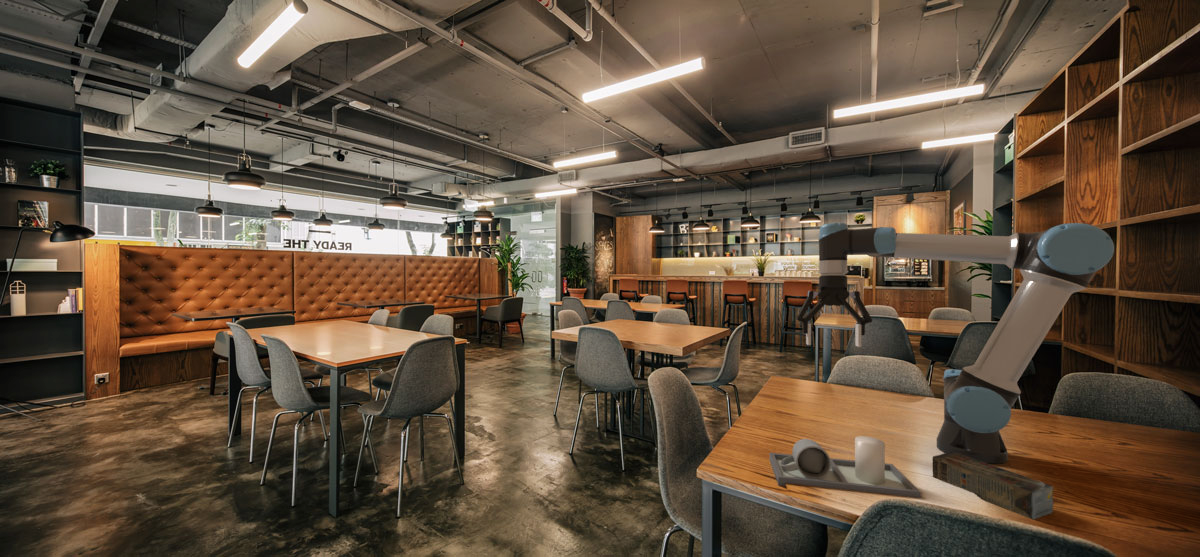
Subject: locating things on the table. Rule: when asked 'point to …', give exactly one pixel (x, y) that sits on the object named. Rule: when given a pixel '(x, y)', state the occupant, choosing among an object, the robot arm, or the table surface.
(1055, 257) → the robot arm
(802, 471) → the ceramic mug
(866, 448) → the white pillar candle
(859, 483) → the cup caddy
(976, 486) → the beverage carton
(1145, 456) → the table surface
